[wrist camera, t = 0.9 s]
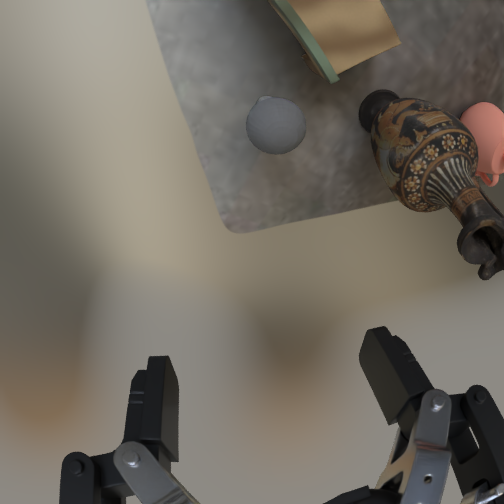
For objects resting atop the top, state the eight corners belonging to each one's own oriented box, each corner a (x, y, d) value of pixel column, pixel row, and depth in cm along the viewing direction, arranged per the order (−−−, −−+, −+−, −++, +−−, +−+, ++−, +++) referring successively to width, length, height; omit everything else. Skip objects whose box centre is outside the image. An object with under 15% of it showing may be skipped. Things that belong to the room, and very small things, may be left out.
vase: (363, 62, 27) (571, 231, 7) (429, 99, 31) (584, 254, 11) (330, 137, 35) (450, 349, 15) (396, 161, 39) (507, 333, 19)
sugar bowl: (497, 97, 29) (538, 127, 22) (485, 162, 39) (517, 196, 32) (452, 94, 30) (497, 125, 23) (442, 168, 40) (475, 206, 33)
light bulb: (255, 74, 28) (269, 97, 22) (299, 95, 31) (325, 126, 24) (232, 115, 32) (238, 152, 25) (275, 133, 34) (292, 173, 28)
